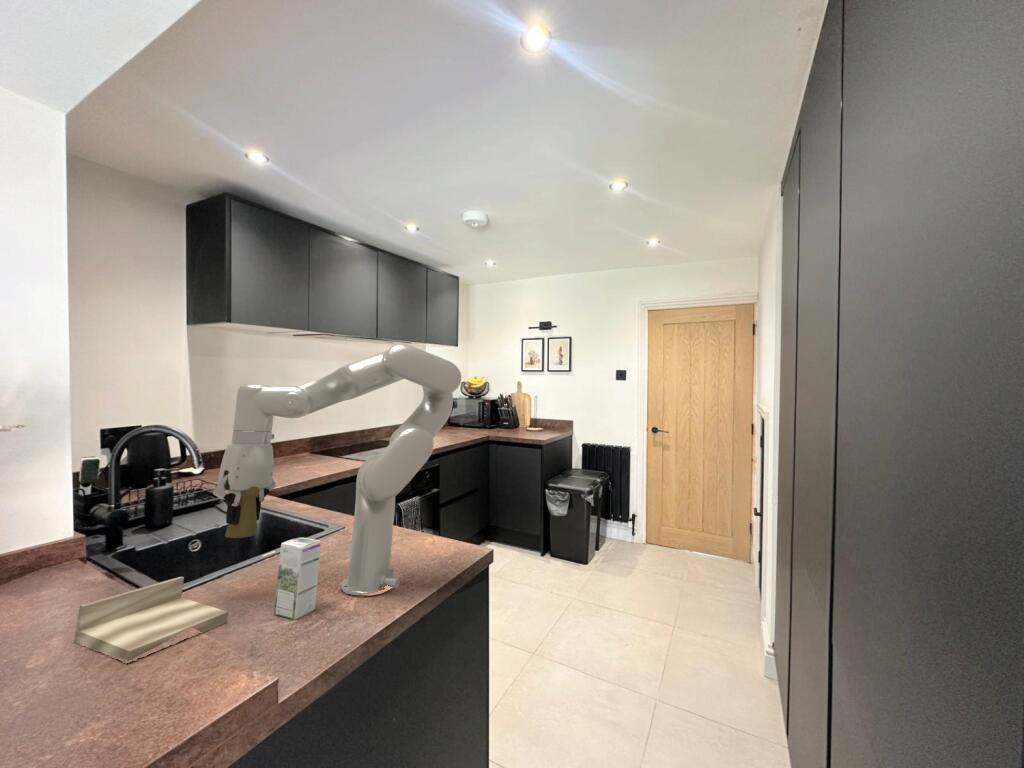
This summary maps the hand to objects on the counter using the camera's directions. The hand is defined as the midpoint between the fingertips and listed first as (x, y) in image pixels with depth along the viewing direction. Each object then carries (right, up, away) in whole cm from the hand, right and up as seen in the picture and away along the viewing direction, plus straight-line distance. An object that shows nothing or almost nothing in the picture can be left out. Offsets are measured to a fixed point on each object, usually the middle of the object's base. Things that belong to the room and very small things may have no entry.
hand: (242, 520), depth 92 cm
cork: (0, -3, 0) cm, 3 cm away
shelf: (-5, -15, -16) cm, 23 cm away
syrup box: (+14, -17, -6) cm, 23 cm away
